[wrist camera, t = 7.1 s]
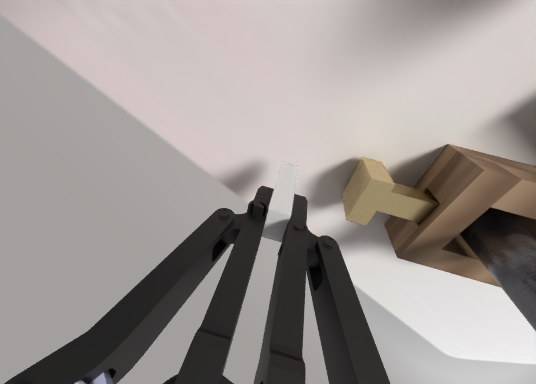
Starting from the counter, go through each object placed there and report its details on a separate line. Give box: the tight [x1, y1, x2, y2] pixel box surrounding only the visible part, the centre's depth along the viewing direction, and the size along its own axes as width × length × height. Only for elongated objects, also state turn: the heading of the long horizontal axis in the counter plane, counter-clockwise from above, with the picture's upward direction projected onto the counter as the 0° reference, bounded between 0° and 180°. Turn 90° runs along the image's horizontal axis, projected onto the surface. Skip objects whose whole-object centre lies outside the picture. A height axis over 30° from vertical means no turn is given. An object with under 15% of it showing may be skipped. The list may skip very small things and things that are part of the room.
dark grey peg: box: [459, 207, 536, 331], centre depth 16 cm, size 4×4×15 cm
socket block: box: [385, 144, 536, 287], centre depth 20 cm, size 11×11×5 cm
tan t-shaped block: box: [342, 157, 440, 225], centre depth 20 cm, size 9×5×4 cm, turn 79°
